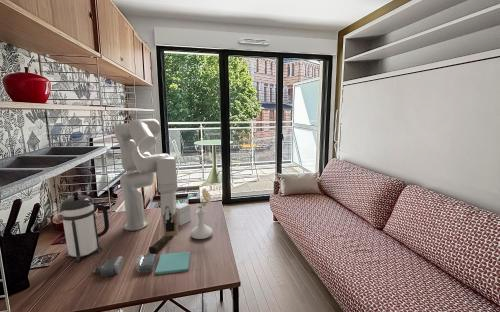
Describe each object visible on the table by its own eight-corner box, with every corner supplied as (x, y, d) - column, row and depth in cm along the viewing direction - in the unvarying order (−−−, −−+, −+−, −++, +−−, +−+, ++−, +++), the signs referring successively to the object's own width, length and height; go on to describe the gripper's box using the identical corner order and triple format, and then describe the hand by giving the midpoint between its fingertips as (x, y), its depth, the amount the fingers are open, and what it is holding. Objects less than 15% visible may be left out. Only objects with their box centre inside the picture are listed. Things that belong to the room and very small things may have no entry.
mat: (161, 256, 115) (160, 254, 115) (190, 253, 117) (190, 251, 117) (155, 274, 103) (155, 272, 102) (188, 270, 105) (188, 268, 105)
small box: (185, 218, 155) (183, 202, 153) (191, 220, 151) (190, 204, 149) (174, 223, 148) (173, 206, 146) (180, 225, 145) (179, 208, 143)
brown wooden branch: (156, 255, 116) (155, 246, 116) (148, 254, 118) (147, 245, 117) (178, 235, 134) (178, 227, 133) (172, 234, 135) (171, 226, 134)
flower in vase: (203, 243, 126) (200, 195, 121) (186, 237, 131) (183, 192, 127) (218, 232, 137) (217, 187, 132) (202, 227, 143) (200, 184, 138)
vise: (99, 265, 109) (98, 257, 108) (156, 259, 113) (155, 251, 112) (91, 277, 101) (90, 268, 100) (152, 271, 105) (151, 262, 104)
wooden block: (166, 230, 109) (164, 211, 108) (178, 229, 110) (177, 210, 108) (164, 236, 104) (162, 216, 103) (177, 235, 105) (175, 214, 104)
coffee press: (97, 260, 113) (88, 196, 107) (57, 264, 110) (46, 199, 105) (111, 240, 130) (104, 184, 124) (77, 243, 127) (68, 186, 121)
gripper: (162, 181, 111) (165, 220, 114) (154, 194, 95) (158, 238, 98) (179, 180, 112) (182, 218, 116) (174, 192, 96) (178, 237, 99)
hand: (171, 227), depth 107 cm, fingers closed on wooden block, 5 cm apart
